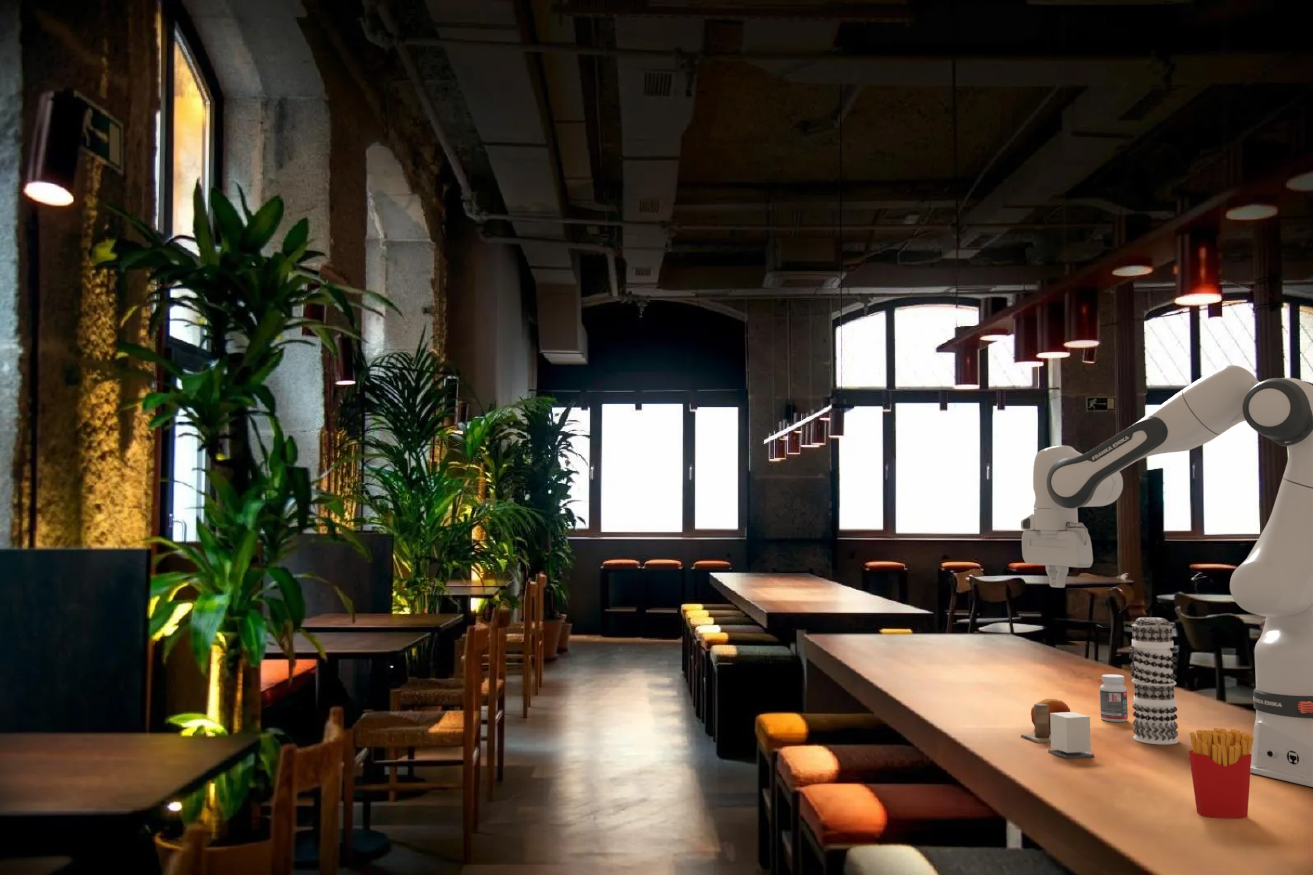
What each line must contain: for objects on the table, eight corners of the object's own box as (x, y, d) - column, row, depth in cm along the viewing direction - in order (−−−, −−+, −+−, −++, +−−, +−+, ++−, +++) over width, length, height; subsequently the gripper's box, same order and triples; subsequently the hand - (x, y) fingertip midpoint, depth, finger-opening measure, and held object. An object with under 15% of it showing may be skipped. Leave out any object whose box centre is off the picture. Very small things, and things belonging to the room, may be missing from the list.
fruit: (1051, 730, 230) (1039, 694, 235) (1032, 743, 236) (1021, 708, 241) (1084, 728, 232) (1071, 692, 237) (1065, 741, 238) (1052, 706, 243)
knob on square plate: (1063, 741, 226) (1062, 706, 227) (1037, 742, 225) (1037, 708, 225) (1046, 735, 232) (1045, 701, 232) (1021, 737, 230) (1020, 703, 231)
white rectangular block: (1090, 751, 212) (1089, 716, 213) (1067, 752, 211) (1066, 717, 211) (1074, 745, 217) (1073, 711, 218) (1051, 747, 216) (1050, 713, 216)
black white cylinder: (1155, 734, 233) (1151, 615, 235) (1190, 742, 224) (1186, 619, 226) (1121, 737, 230) (1117, 617, 231) (1156, 746, 221) (1152, 621, 223)
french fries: (1198, 817, 170) (1195, 732, 171) (1187, 810, 174) (1184, 727, 175) (1260, 819, 169) (1257, 733, 170) (1248, 811, 173) (1244, 727, 174)
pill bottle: (1130, 723, 245) (1129, 678, 246) (1103, 722, 247) (1102, 677, 247) (1124, 718, 251) (1123, 674, 252) (1098, 717, 252) (1097, 673, 253)
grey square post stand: (1094, 756, 212) (1093, 720, 212) (1066, 758, 210) (1065, 721, 211) (1074, 750, 218) (1073, 714, 218) (1048, 752, 216) (1047, 715, 217)
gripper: (1099, 522, 225) (1101, 590, 224) (1041, 521, 245) (1042, 583, 244) (1072, 522, 224) (1074, 591, 223) (1016, 521, 244) (1017, 584, 243)
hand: (1057, 587), depth 234 cm, fingers closed
